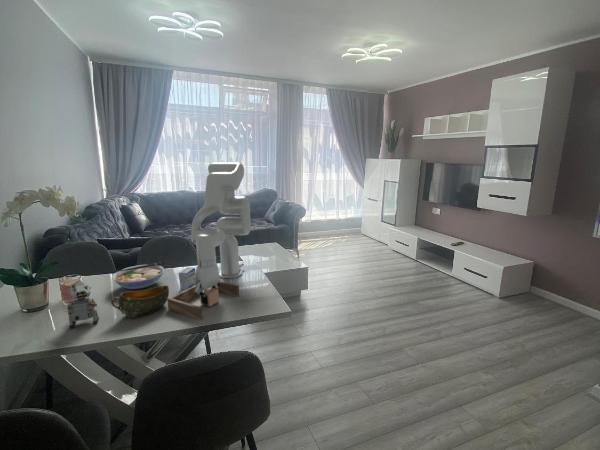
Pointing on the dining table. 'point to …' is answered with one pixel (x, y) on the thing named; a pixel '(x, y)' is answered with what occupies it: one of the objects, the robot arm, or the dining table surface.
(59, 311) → the dining table surface
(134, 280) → the ramen bowl
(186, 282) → the medicine box
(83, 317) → the figurine
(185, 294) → the wooden open frame
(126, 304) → the cup
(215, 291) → the terracotta block
